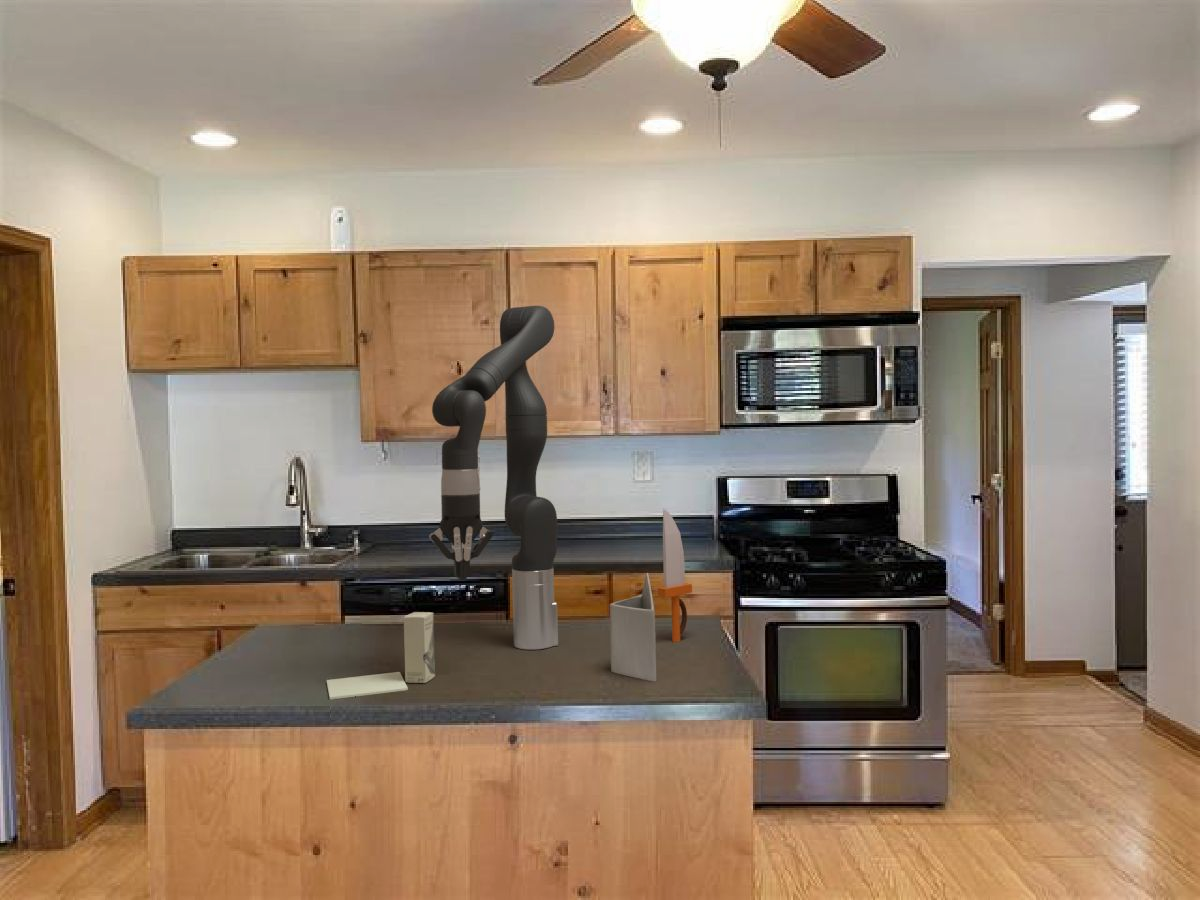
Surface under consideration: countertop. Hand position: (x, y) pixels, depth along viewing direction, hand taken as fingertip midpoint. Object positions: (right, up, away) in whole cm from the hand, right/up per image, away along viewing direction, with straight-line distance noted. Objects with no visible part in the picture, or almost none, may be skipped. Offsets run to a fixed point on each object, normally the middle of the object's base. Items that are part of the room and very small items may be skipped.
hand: (462, 579), depth 176 cm
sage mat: (-17, -20, -6) cm, 27 cm away
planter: (+33, -18, +1) cm, 38 cm away
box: (-8, -19, -2) cm, 21 cm away
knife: (+44, -17, +24) cm, 53 cm away
